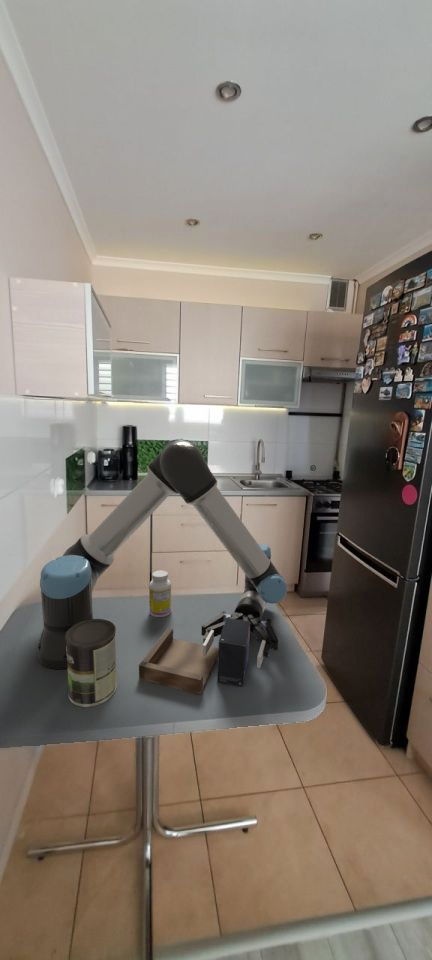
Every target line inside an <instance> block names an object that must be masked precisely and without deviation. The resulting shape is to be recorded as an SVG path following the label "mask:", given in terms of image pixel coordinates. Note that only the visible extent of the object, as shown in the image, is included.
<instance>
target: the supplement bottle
mask: <svg viewBox="0 0 432 960" xmlns="http://www.w3.org/2000/svg"><path fill="white" fill-rule="evenodd" d="M151 576H152V580H151V581H150V582H149V584H148V589H149V591H148V592H149V593H148V594H149V598H148V599H149V602H148V603H149V614H150V615H151V616H153V617H154V618H165V617H166V616H169V615H170V614H171V613H172V582H171V580H170V579H168V578H169V573H168V572H167V571H166V570H161V569H160V570H156V571H154V572H152V573H151Z"/></svg>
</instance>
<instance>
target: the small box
mask: <svg viewBox="0 0 432 960" xmlns="http://www.w3.org/2000/svg"><path fill="white" fill-rule="evenodd" d="M250 634H251V633H250V621H244V620H237V619H231V618H226V621H225V624H224V627H223V630H222V633H221V635H219V636H220V637H219V639H218V645H217V646H218V647H217V648H218V658H217V674H216V683H219V684H226V685H231V686H235V687H236V686H237V687H244V682H245V677H246V673H247V669H248V668H247V667H248V662H249V656H250V641H251V640H250V639H251V638H250V636H251V635H250Z"/></svg>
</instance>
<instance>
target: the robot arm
mask: <svg viewBox="0 0 432 960" xmlns="http://www.w3.org/2000/svg"><path fill="white" fill-rule="evenodd" d="M146 469H147V474H146V475H145V476H144V477H143V479H142V480H141V481H139V482H138V484H137V485H136V486H135V487H133V489H132V490H131V491H130V492H129V493H128V494H127V495H126V496H125V498H124V499H123V500H122V501H121V502H120V503H119V504H118V505H117V506H116V507H115V508H114V509H113V510H112V511H111V512H110V514H109V515H108V516H107V517H105V519H104V520H102V522H101V523H100V524H99V525H98V526H97V527H96V528H95V530H93V531H92V532H91V533H90V534H89V533H88V534H87V533H86V534H83V535H81V537H79V538H78V539H77V541H76V542H75V543H74V544H72V545H71V546H70V547H68V548H67V549H66V550H65V551H64V553H63V554H62V556H59V557H56V558H55V559H51V560H50V561H48V562H47V563H46V564H45V565H44V566H43V567H42V569H41V571H40V578H39V587H40V594H41V595H40V596H41V606H42V608H41V609H42V621H43V628H42V632H41V635H40V638H39V642H38V646H37V659H38V662H39V663H40V664H41V665H42V666H44V667H46V668H48V669H53V670H64V669H67V651H66V641H65V634H66V632H67V631H68V630H69V629H70V628H71V627H72V626H74V625H75V624H77V623H79V622H82V621H86V620H90V619H94V612H93V609H94V608H93V592H94V589H95V586H96V584H97V582H98V580H99V578H100V577H101V576H102V575H103V574H104V572H106V571H107V569H108V568H109V567H110V566H111V565H112V564H113V563H114V560H115V557H114V556H115V555H114V554H116V553H117V551H119V549H120V548H121V547H122V546H123V545H124V543H126V542H127V540H129V538H130V537H132V535H133V534H134V533H136V532H137V531H138V529H139V528H140V527H141V525H142V524H144V522H146V521H147V520H148V518H150V516H151V515H152V514H153V513H155V511H156V510H157V509H158V508H159V507H160V506H161V505H162V504H163V503H164V501H166V499H168V497H169V496H171V495H180V497H181V498H182V500H184V502H185V503H186V505H192V506H193V507H194V509H195V510H196V511H197V512H198V513H199V515H200V516H201V518H202V519H203V520H204V522H205V523H206V524H207V526H208V527H209V528H210V530H212V532H213V533H214V535H215V536H216V537H217V539H218V540H219V541H220V542H221V544H222V545H223V546H224V548H225V549H226V551H227V552H228V553H229V554H230V556H231V557H232V559H233V560H234V561H235V562H236V564H237V565H238V566H239V568H240V569H241V570H242V572H243V573H244V589H243V593H242V595H241V597H240V599H239V601H238V603H237V605H236V607H235V609H234V611H233V613H231V614H229V613H228V614H227V612H226V610H222V611H221V612H220V613H219V614H218V615H216V616H215V617H213V618H211V619H210V620H208V621H206V622H204V623H203V624H201V633H200V634H201V636H202V638H203V639H202V645H203V653H202V656H206V654H207V652H208V650H209V649H210V647H212V645H213V642H214V640H215V638H216V637H218V636H221V633H222V630H223V627H224V624H225V621H226V618H231V619H237V620H244V621H250V634H251V635H252V636H253V637H255V638H256V639H257V641H258V642H259V643H260V646H259V650H258V653H257V660H256V668H258V669H261V666H262V663H263V660H264V658H267V657H269V656H270V651H271V650H272V649H273V651H279V641H280V640H279V637H278V636H277V634H276V632H275V630H274V628H273V626H272V625H273V624H272V619H270V618H267V619H266V620H262V618H263V615H264V612H265V609H266V605H267V604H272V605H273V604H277V603H279V602H281V601H283V599H285V597H286V595H287V592H288V586H287V583H286V581H285V579H284V577H283V576H282V575H281V574H280V573H279V571H278V569H277V568H276V566H275V565H274V564H273V562H272V561H271V559H272V554H271V553H272V552H271V547H270V546H268V545H267V544H263V543H258V542H257V541H256V540H255V538H254V537H253V535H252V534H251V532H250V531H249V529H248V528H247V527H246V525H245V524H244V523H243V521H242V520H241V519H240V517H239V516H238V514H237V513H236V512H235V510H234V509H233V507H232V506H231V504H230V503H229V502H228V501H227V499H226V498H225V496H224V495H223V494H222V492H221V491H220V490H219V488H218V479H217V478H216V477H215V476H214V475H213V472H212V471H211V469H210V467H209V465H208V463H207V461H206V459H205V457H204V455H203V453H202V451H201V450H200V448H199V447H198V446H197V445H196V444H195V443H193V441H191V440H189V439H184V438H176V439H172V440H170V441H169V442H167V443H166V444H165V445H164V446H163V447H162V450H161V451H160V452H159V453H158V454H157V455H156V457H155V458H154V459H153V460H152V461H151V462H150V463H148V465H147V467H146ZM261 627H262V628H261ZM264 631H265V632H264Z"/></svg>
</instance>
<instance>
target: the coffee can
mask: <svg viewBox="0 0 432 960" xmlns="http://www.w3.org/2000/svg"><path fill="white" fill-rule="evenodd" d="M116 632H117V630H116V625H115V624H114V623H113V622H112V621H110V620H108V619H104V618H93V619H90V620H86V621H82V622H79V623H77V624H75V625H74V626H72V627H71V628H70V629H69V630H68V631H67V632H66V634H65V641H66V651H67V668H66V669H67V682H68V695H67V696H68V699H69V701H70V702H71V703H72V704H73V705H74V706H76V707H81V708H92V707H96V706H99V705H102V704H104V703H105V702H107V701H108V700H110V699H111V698H112V697H113V695H114V694H115V692H116V691H117V686H118V683H117V659H116V657H117V656H116V654H117V653H116ZM91 706H92V707H91Z"/></svg>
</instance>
